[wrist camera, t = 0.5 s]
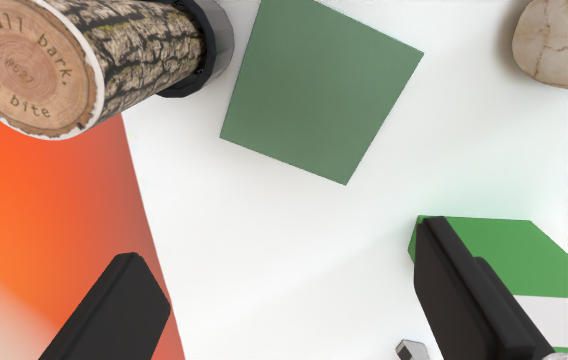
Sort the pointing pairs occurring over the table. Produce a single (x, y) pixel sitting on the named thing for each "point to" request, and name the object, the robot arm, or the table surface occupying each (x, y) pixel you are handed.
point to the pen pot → (217, 45)
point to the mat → (315, 87)
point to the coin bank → (543, 42)
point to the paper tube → (89, 60)
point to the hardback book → (521, 268)
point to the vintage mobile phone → (412, 351)
